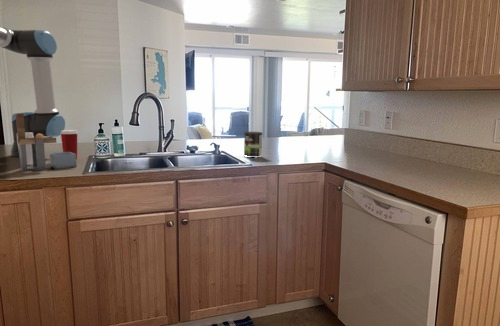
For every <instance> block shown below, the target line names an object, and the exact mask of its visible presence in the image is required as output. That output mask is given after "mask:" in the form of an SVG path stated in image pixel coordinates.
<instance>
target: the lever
mask: <svg viewBox="0 0 500 326" xmlns="http://www.w3.org/2000/svg"><path fill="white" fill-rule="evenodd" d="M23 113H24V112H16V124H17V136H18V144H20V145H25V144H36V142H35V139H36V138H25V127H24V114H23ZM39 139H44V144H56V143H57V137H45V136H44V138H39Z"/></svg>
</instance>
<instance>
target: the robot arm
mask: <svg viewBox="0 0 500 326" xmlns="http://www.w3.org/2000/svg"><path fill="white" fill-rule="evenodd" d="M57 46H58V45H57V42H56V39H55V37H54V36H53V34H52V33H50V32H49V31H48V30H41V29H34V30H33V29H31V30H29V29H28V30H27V29H26V30H25V29H24V30H23V29H21V30H20V29H19V30H15V29H9V28H7V27H4V26H3V27H0V48H3V49H5V50H8V51H11V52H13V53H15V54H16V53H17V54H21V55H26V58H27V59H28V60H29V61H30V66H31V72H32V79H33V80H32V81H33V87H34V95H35V103H36V109H35V110H34V111H27V112H22V113H23V114H24V127H25V132H32V133H33V135H34V138H36V135H37V134H39V133H40V134H42V135H43V136H44V137H53V138H57V137H59V136H60V137H61V134H60V133H61V131H62V130H66V129H65V128H66V119H65V118H64V116H63V115H61V114H60V111H59V110H58V109H57V107H56V104H55V103H56V102H55V96H54V95H55V94H54V85H53V84H54V83H53V76H52V70H51V69H52V68H51V61H52V60H53V59H54V56H53V55H55V54H56V52H57V49H58V47H57ZM16 113H17V112H16ZM16 113H13V114H12V115H11V126H12V127H11V128H12V134H13V135H12V136H13V137H12V138H13V143H12V146H11V150H10V156H11V157H14V158H15V157H17V158H20V156H19V149H18V144H17V124H16Z"/></svg>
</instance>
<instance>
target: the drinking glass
mask: <svg viewBox="0 0 500 326" xmlns="http://www.w3.org/2000/svg"><path fill="white" fill-rule="evenodd" d="M25 138H34V135H33V133H32V132H25ZM17 144H18V136H17ZM25 145H26V156H27V166H33V159H32V146H31V144H25ZM18 149H19V144H18Z"/></svg>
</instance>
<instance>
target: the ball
mask: <svg viewBox="0 0 500 326" xmlns="http://www.w3.org/2000/svg"><path fill="white" fill-rule="evenodd" d="M44 137H45V136H43V135H42V134H40V133H39V134H37V135H36V139H39V138H44Z"/></svg>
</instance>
